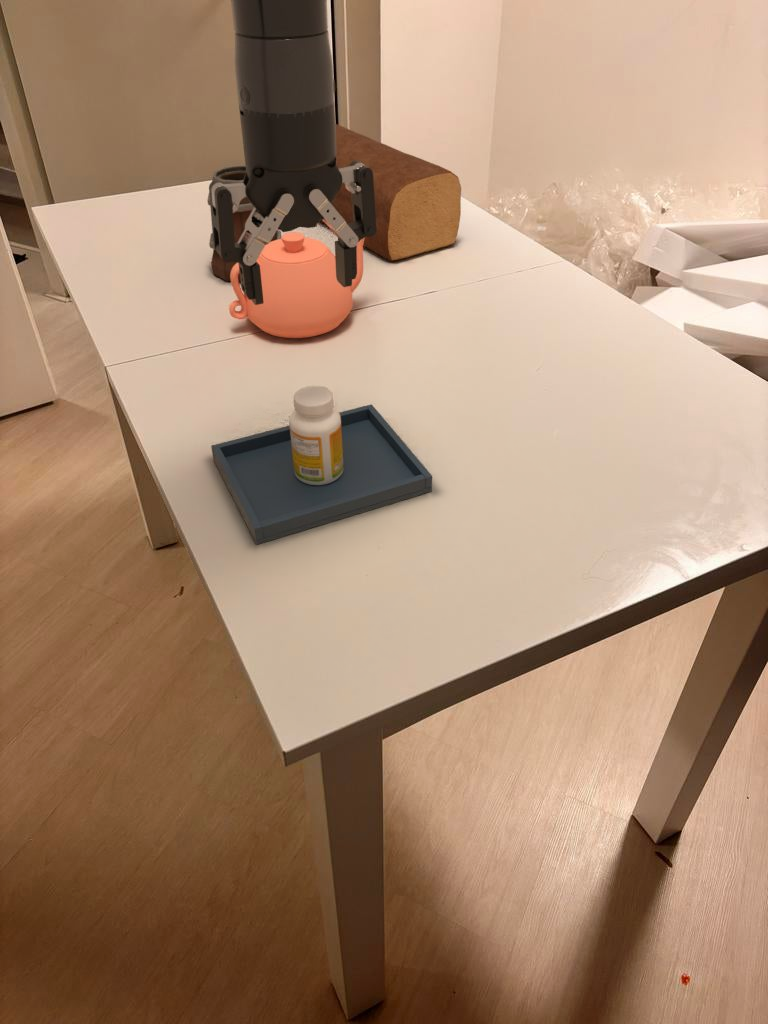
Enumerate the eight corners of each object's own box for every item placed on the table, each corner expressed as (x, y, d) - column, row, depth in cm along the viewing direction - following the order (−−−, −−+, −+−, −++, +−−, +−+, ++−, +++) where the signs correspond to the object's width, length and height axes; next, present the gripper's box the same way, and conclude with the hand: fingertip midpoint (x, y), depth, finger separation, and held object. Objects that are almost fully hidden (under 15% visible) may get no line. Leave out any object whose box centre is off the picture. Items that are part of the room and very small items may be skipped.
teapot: (356, 284, 126) (353, 203, 118) (397, 326, 115) (397, 240, 107) (218, 310, 119) (206, 227, 111) (248, 358, 108) (236, 269, 100)
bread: (341, 184, 162) (338, 112, 154) (462, 244, 137) (466, 162, 129) (274, 200, 156) (267, 125, 147) (388, 266, 131) (387, 181, 122)
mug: (295, 274, 129) (287, 178, 119) (222, 288, 125) (207, 190, 115) (266, 241, 140) (256, 150, 130) (198, 252, 136) (182, 160, 126)
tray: (256, 544, 80) (254, 529, 78) (213, 460, 90) (210, 445, 89) (432, 491, 86) (432, 475, 84) (372, 418, 97) (371, 403, 95)
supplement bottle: (332, 452, 90) (327, 376, 84) (351, 478, 87) (348, 401, 80) (287, 464, 89) (279, 388, 82) (304, 492, 85) (297, 414, 79)
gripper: (351, 79, 68) (356, 264, 78) (185, 96, 63) (213, 291, 74) (388, 97, 63) (388, 294, 73) (210, 118, 58) (237, 324, 68)
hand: (300, 292), depth 73 cm, fingers open, 8 cm apart
